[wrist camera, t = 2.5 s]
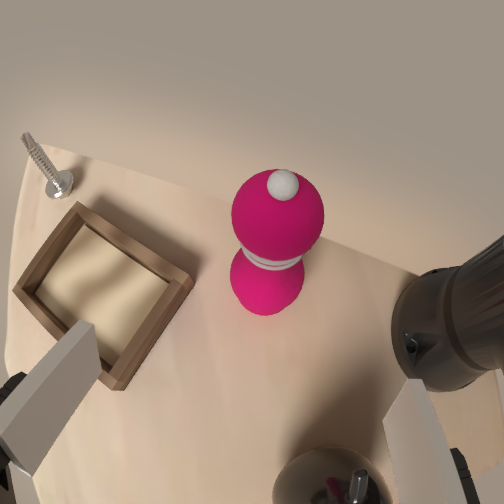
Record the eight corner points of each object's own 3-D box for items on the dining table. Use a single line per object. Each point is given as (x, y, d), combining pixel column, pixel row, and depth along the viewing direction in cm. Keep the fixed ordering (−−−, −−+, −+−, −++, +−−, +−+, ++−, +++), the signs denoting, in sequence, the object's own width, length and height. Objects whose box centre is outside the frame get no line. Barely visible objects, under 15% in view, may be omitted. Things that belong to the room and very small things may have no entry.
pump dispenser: (361, 430, 28) (436, 452, 15) (362, 509, 24) (426, 564, 10) (266, 443, 28) (283, 488, 14) (271, 524, 24) (287, 601, 10)
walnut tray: (194, 285, 35) (189, 274, 32) (124, 390, 30) (111, 390, 27) (87, 214, 38) (77, 200, 35) (27, 298, 33) (12, 290, 30)
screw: (46, 203, 39) (61, 176, 41) (69, 207, 39) (83, 179, 41) (2, 148, 27) (22, 119, 29) (24, 149, 27) (46, 118, 29)
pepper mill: (253, 247, 37) (260, 114, 19) (308, 277, 35) (366, 163, 17) (219, 298, 34) (189, 193, 16) (276, 332, 33) (315, 261, 15)
